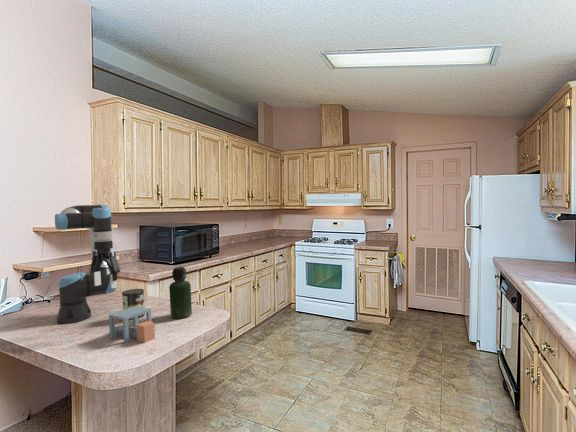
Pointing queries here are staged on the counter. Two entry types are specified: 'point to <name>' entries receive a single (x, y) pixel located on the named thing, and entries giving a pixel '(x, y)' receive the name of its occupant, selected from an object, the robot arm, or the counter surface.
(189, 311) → the green bottle
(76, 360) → the counter surface
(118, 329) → the steel bar
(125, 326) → the blue toy stool
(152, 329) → the block
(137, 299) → the coffee can
